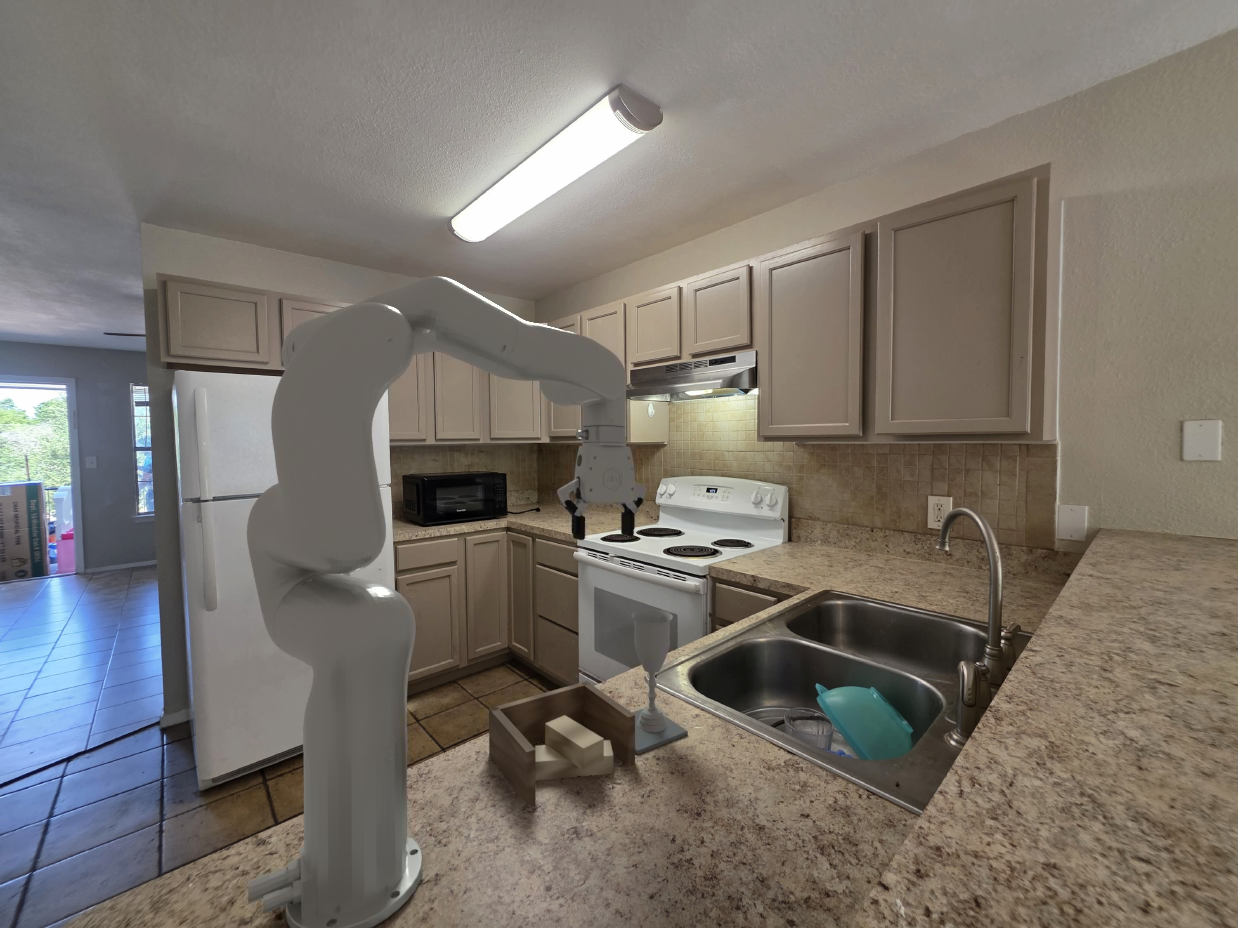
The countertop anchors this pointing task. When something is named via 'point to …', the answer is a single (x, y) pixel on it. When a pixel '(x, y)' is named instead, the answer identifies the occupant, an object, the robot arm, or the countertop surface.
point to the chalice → (652, 659)
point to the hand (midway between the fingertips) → (603, 537)
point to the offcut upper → (574, 742)
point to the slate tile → (656, 735)
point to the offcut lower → (568, 764)
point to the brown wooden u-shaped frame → (526, 726)
